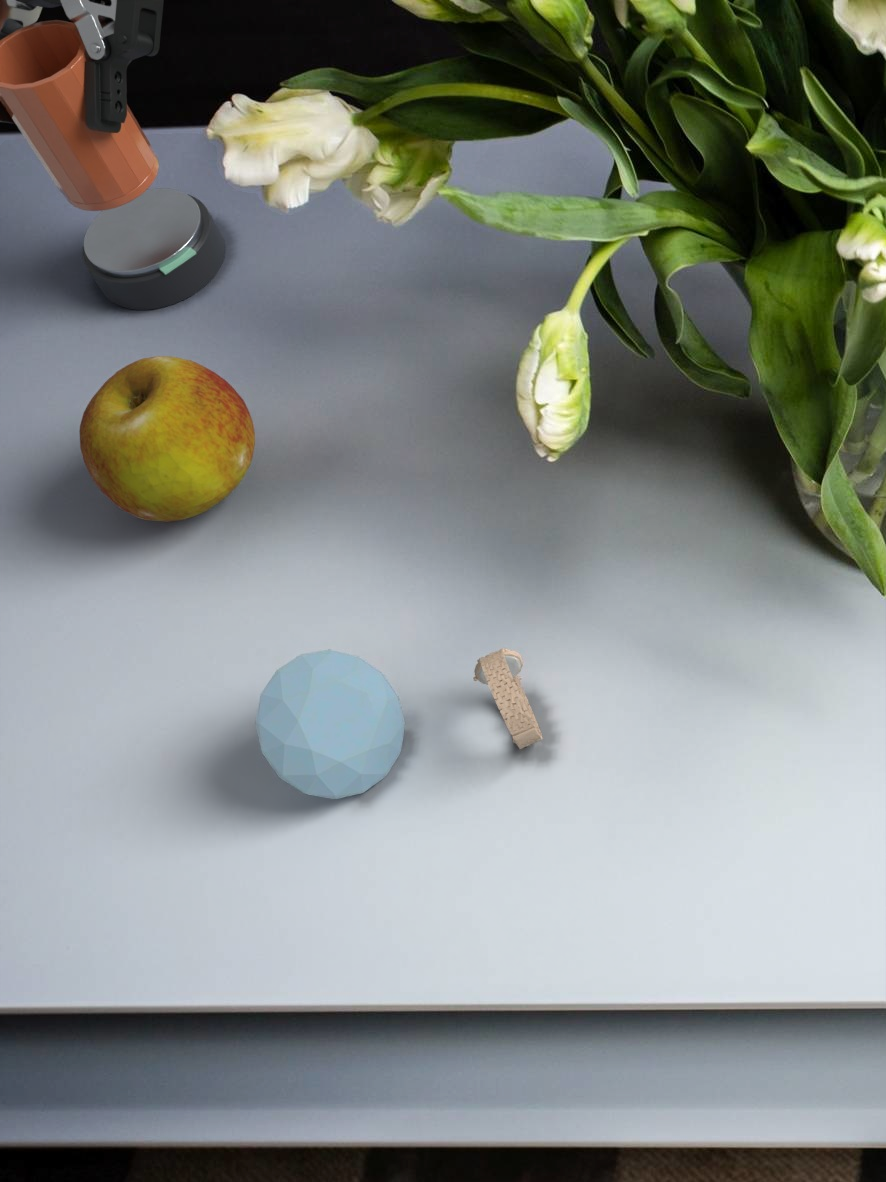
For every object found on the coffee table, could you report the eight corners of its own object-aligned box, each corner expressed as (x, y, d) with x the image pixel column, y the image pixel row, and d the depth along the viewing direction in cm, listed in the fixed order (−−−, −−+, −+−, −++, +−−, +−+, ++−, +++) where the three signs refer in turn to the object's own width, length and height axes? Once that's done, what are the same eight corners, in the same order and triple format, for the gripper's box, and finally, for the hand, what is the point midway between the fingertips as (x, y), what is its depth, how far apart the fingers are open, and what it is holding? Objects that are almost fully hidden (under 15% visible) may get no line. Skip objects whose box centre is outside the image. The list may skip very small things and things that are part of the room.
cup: (96, 225, 99) (16, 102, 91) (46, 184, 101) (-36, 61, 94) (177, 171, 100) (105, 46, 93) (126, 132, 103) (52, 7, 95)
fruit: (161, 416, 99) (97, 322, 92) (298, 425, 98) (243, 330, 91) (98, 542, 94) (25, 453, 88) (240, 554, 93) (178, 464, 86)
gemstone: (199, 734, 82) (228, 720, 78) (303, 633, 86) (335, 615, 82) (309, 837, 85) (342, 828, 81) (406, 734, 89) (442, 721, 85)
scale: (143, 329, 104) (121, 295, 101) (76, 271, 107) (53, 237, 105) (250, 255, 106) (231, 220, 104) (181, 201, 110) (161, 166, 107)
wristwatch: (534, 681, 86) (507, 628, 82) (562, 751, 83) (536, 700, 79) (486, 701, 86) (457, 649, 81) (513, 772, 83) (485, 722, 79)
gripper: (-115, -211, 89) (-100, 110, 93) (112, -202, 86) (118, 130, 90) (-13, -173, 96) (-3, 124, 101) (200, -164, 93) (201, 142, 97)
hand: (54, 125), depth 95 cm, fingers closed on cup, 6 cm apart
